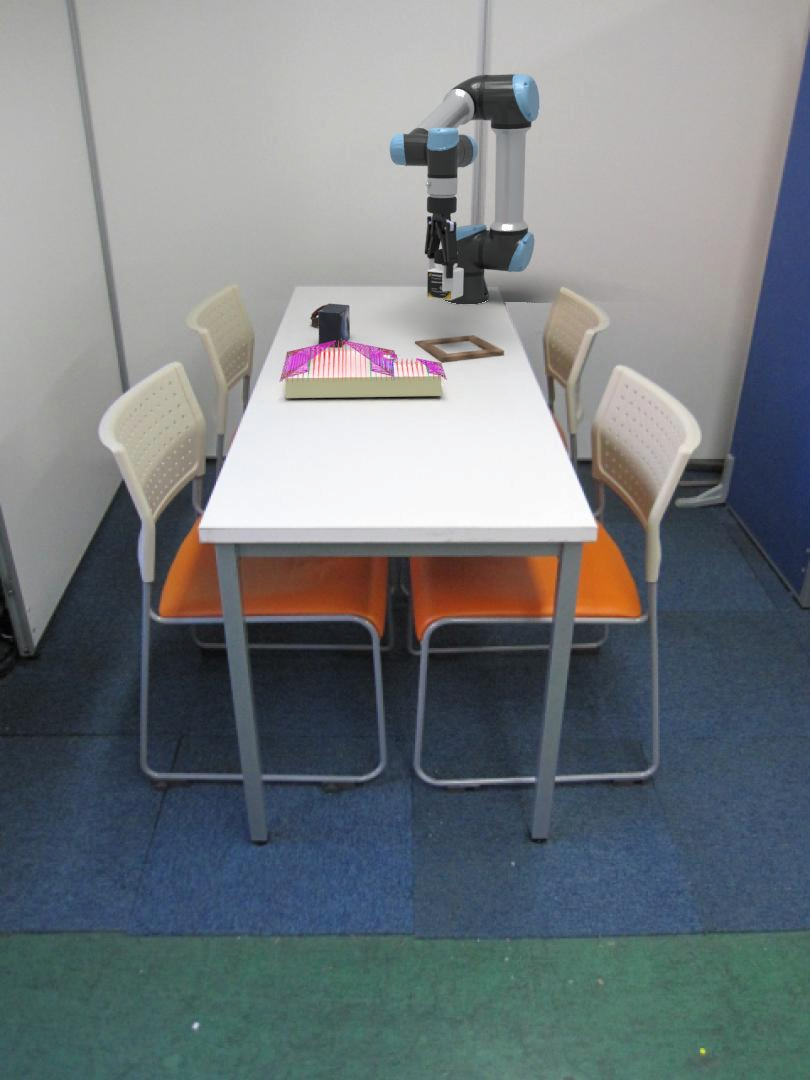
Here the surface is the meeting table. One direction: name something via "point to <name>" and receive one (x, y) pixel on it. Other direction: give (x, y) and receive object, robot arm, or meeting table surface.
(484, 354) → the brown square frame
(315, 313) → the pottery mug
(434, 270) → the medicine bottle
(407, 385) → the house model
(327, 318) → the small box
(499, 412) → the meeting table surface
